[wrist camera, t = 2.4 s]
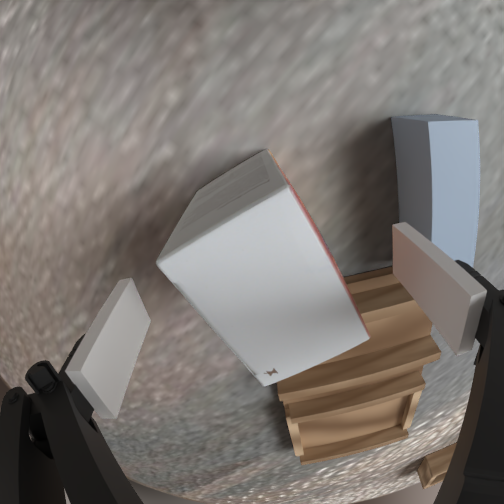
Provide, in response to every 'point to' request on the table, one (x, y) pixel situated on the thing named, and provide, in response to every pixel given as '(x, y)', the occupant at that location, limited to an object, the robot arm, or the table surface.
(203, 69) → the table surface
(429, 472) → the open wooden box
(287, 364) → the small box
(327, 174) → the table surface
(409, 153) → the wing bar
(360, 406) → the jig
